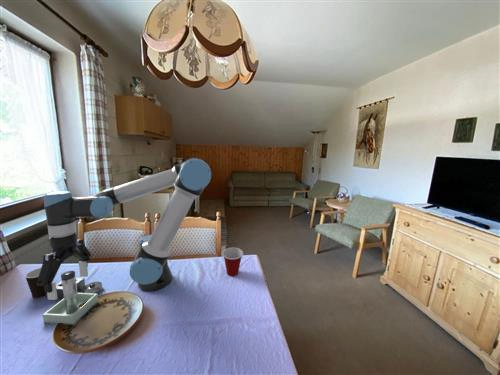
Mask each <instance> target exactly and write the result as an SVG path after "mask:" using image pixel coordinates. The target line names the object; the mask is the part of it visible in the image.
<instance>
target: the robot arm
mask: <svg viewBox="0 0 500 375" xmlns="http://www.w3.org/2000/svg"><path fill="white" fill-rule="evenodd" d="M211 170H212V169H211V167H210V166H209V164H208V163H207V162H206V161H204V160H203V159H202V158H199V157H191V158H188V159H187V160H185V161H183V162H181V163H178V164H176V165H173V167H172V168H169V169H167V170H164V171H161V172H158V173H154V174H151V175H148V176H145V177H142V178H139V179H136V180H132V181H130V182H127V183H126V182H125V183H123V184H120V185H116V186H113V187H110V188H105V189H103V190H100V191H98V192H96V193H95V194H92V195H90V196H79V197H78V196H73V193H72V192H71V191H67V190H61V191H60V190H59V191H51V192H48V193H46V194H44V196H43V199H44V200H43V202H44V203H43V204H44V206H43V207H44V211H45V216H46V225H47V232H48V236H49V237H48V241H49V245H50V246H49V247H50V248H52V252H51V253H49V254H48V253H44V254H43V257H42V260H43V262H42V265H41V267H40V268H41V271H40V274H39V277H38V281H37V285H41V286H44V288H45V292H46V293H47V295H46V296H47V300H48V301H49V300H50V301H51V300H52V301H55V300H57V291H56V284H57V283H56V281H54V280H55V278H56V275H57V274H58V272H59V269H60V267H61V265H62V264H63V263H64V262H65V261H66V260H67V259H68V258H70V257H72V256H73V257H75V258H76V259H78V260H79V261H78V267H79V278H87V277H89V272H88V266H89V265H88V264H89V263H88V262H89V261H90V260H91V258H90V257H91V256H92V253H91V252H90V251H89V249H88V248H87V246H86V245H85V243H84V240H83V239H80V238H78V233H77V225H76V219H78V218H79V219H81V218H102V217H108V216H110V215H111V214H112V212H113V209H114V208H113V207H115V206H118V205H120V204H122V203H127V202H129V201H131V200H136V199H138V198H140V197H144V196H147V195H151V194H153V193H156V192H159V191H163V190H165V189H168V188H170V187H171V188H172V187H174V190H173V192H172V194H171V196H170V198H169V200H168V202H167V204H166V206H165V208H164V210H163V212H162V214H161V216H160V217H159V219H158V222H157V224H156V225H155V227H154V229H153V230H152V233H151V234H148V235H145V236H142V237H141V238H139V241H138V242H139V243H138V244H139V250H138V251H137V254H136V255H135V257H134V259H133V261H132V263H131V264H130V266H129V277H130V278H131V279H132V281H133V282H135V283H137V287H138V289H139V290H141V291H145V292H152V291H153V292H154V291H157V290H161V289H163V288H165V287H166V286H168V285H170V283H172V279H173V274H172V271H171V269H170V267H169V264H168V259H169V257H170V254H171V250H170V247H171V245H172V243H173V241H174V240H175V237H176V236H177V234H178V231H179V229H180V228H181V226H182V223H183V222H184V220H185V218H186V217H187V214H188V212H189V210H190V209H191V207H192V205H193V202H194V201H195V199H197V198H199V197H201V195H202V194H203V192H204V190H205V188H206V187H207V186H208V184H210V181H211V179H212V171H211ZM48 279H49V280H48Z"/></svg>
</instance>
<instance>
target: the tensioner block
mask: <svg viewBox="0 0 500 375" xmlns="http://www.w3.org/2000/svg"><path fill="white" fill-rule="evenodd" d="M55 284H56V291H57V299H56V300H58V301H59V300H60V301H61V300H62V299H64V295H63V288H62V280H60V281H59V282H58V283H55ZM76 285H77V293H82V292H83V291H82V288H83V287H84V286H85V285H86V280H85V277H76Z"/></svg>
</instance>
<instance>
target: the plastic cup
mask: <svg viewBox="0 0 500 375" xmlns="http://www.w3.org/2000/svg"><path fill="white" fill-rule="evenodd" d="M222 256H223V259H224V265H225V269H226V274H227V276H229V277H236V276H237V275H238V274H239V272H240V271H239V270H240V267H241V261H242V257H243V256H244V251H243V250H242V248H239V247H227V248H226V249H224V250H223V251H222ZM235 275H236V276H235Z"/></svg>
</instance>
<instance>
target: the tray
mask: <svg viewBox="0 0 500 375" xmlns="http://www.w3.org/2000/svg"><path fill="white" fill-rule="evenodd" d="M87 300H88V301H87ZM78 301H79V305H80V304H82V303H84V302H85V301H87V302H86V303H85V304H84V305H83V306H82V307H80V308H79V309H78V310H77V311H76V312H74V313H72V314H66V309H65V302H64V299H62V300H60V301H58V302H57V303H56V304H54V305H53V306H52V307H51V308H49V309H48V310H47V311H45V312H44V313H43V314H42V319H43V324H50V325H51V324H52V325H59V324H58V323H63V324H62V325H69V326H71V325H72V326H73V325H75V324H76V323H77V322H79V320H80V319H82V318H83V317H84V316H85V315H86V314H87V313H88V312H89V311H90V310H91V309H92V308H93V307H94V306H95V305H96V304H97V303H98V302H99V293H98V294H95V293H83V292H80V293H78ZM97 301H98V302H97ZM96 302H97V303H96ZM95 303H96V304H95Z"/></svg>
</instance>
